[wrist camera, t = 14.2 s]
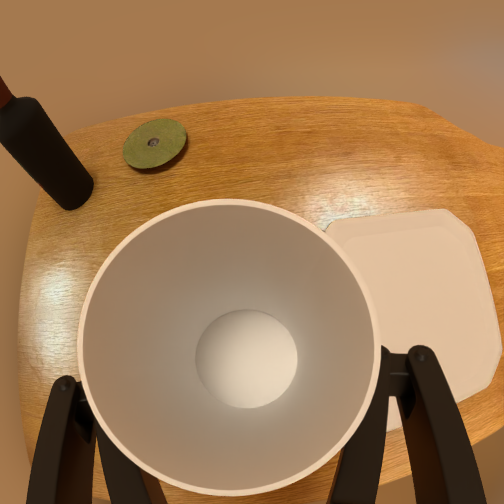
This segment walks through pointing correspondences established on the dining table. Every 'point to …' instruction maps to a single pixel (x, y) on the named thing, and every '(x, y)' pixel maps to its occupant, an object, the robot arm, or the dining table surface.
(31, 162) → the wine bottle
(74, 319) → the dining table surface
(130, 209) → the dining table surface
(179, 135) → the mat
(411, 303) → the plate
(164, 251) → the cup
